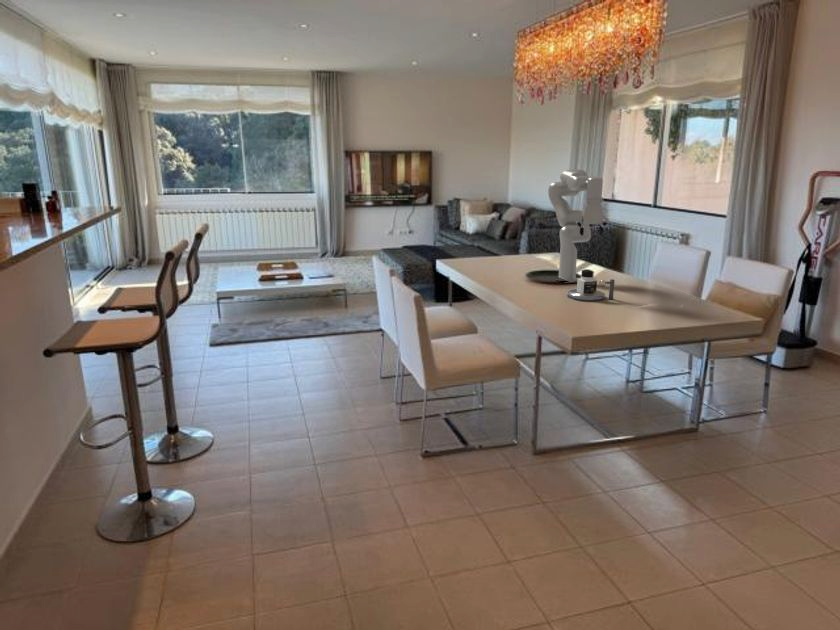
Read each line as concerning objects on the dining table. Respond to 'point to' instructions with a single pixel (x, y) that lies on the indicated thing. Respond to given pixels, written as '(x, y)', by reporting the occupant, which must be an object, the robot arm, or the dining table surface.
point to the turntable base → (588, 301)
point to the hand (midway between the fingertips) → (590, 235)
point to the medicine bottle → (587, 283)
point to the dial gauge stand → (611, 291)
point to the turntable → (586, 296)
